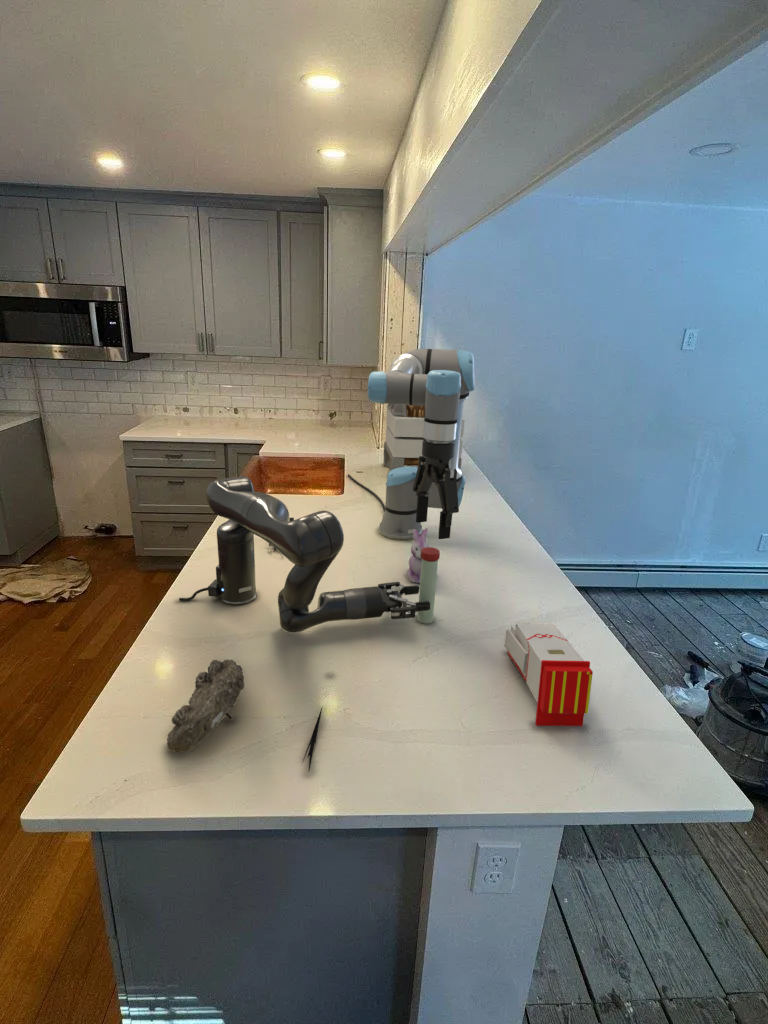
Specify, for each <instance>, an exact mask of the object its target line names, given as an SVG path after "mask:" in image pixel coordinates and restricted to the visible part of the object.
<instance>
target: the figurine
mask: <svg viewBox="0 0 768 1024" xmlns="http://www.w3.org/2000/svg"><path fill="white" fill-rule="evenodd" d="M428 534H429V528H426V527H425V528H424V529H423V530H422V534H421V535H419V533H418V531H417V530H416V529H414V530H413V537H414V539H413V543H412V545H411V547H410V552H411V556H410V558H409V560H408V566H409V567H408V571H407V577H408V578H409V581H410V582H412V583H417V584H420V576H421V562H422V558H421V550H422V549H423V548H426V547H430V545H429V543H428V540H427V539H428Z"/></svg>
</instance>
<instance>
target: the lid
mask: <svg viewBox="0 0 768 1024" xmlns="http://www.w3.org/2000/svg"><path fill="white" fill-rule="evenodd" d="M440 555H441V552H440V550H439V549H438V548H436V547H433V546H431V547H430V546H429V547H426V548H423V549H422V550H421V558H422V559H423V560H425V561H437V560H438V561H439V560H440Z"/></svg>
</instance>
